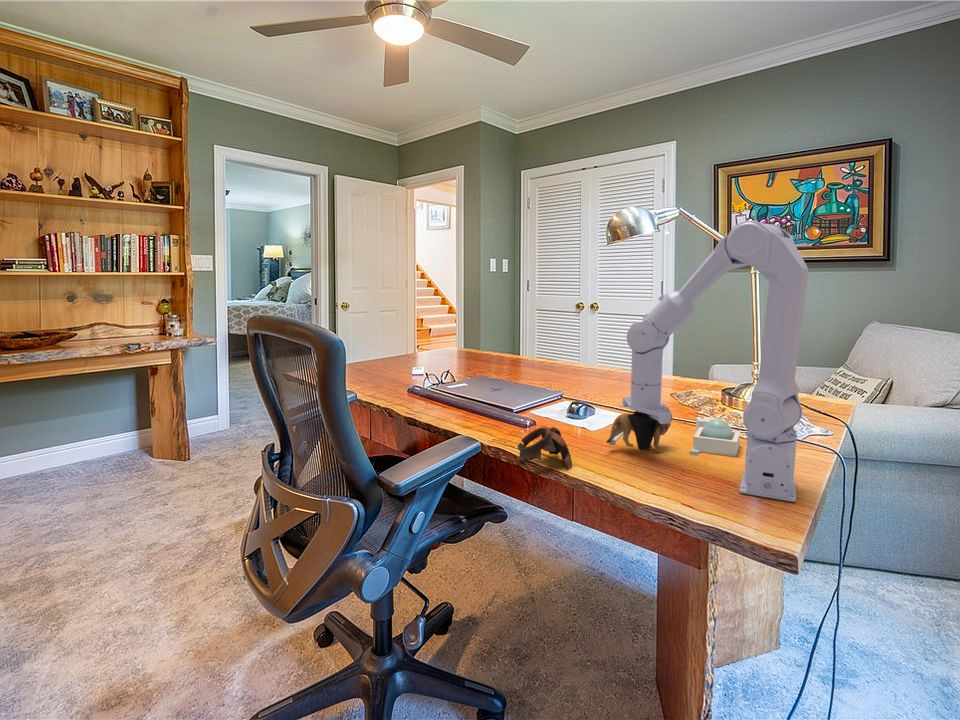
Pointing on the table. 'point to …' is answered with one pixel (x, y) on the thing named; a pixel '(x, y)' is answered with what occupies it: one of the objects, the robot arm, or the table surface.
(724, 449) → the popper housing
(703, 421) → the die
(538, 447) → the brown twisted loop
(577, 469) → the table surface
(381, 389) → the table surface
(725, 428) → the dome plunger
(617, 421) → the lion figurine
